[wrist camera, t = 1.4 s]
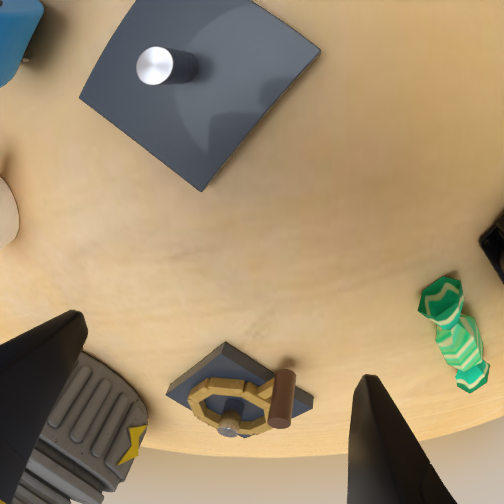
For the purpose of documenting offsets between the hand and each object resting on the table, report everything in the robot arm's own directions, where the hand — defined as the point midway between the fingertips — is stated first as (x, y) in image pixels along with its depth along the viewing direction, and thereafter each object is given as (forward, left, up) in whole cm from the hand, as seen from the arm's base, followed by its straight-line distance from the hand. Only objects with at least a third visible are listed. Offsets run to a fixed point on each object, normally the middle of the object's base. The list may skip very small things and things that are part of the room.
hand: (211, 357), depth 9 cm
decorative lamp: (+1, +36, -13) cm, 39 cm away
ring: (-11, +16, -12) cm, 23 cm away
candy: (-19, -3, -13) cm, 23 cm away
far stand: (-11, +18, -13) cm, 25 cm away
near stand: (+9, -4, -13) cm, 16 cm away
